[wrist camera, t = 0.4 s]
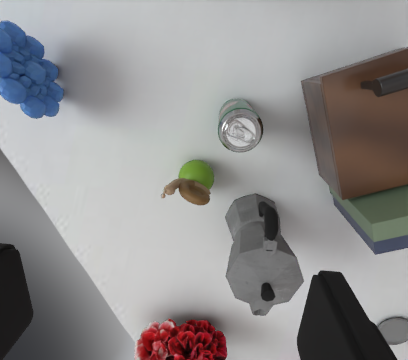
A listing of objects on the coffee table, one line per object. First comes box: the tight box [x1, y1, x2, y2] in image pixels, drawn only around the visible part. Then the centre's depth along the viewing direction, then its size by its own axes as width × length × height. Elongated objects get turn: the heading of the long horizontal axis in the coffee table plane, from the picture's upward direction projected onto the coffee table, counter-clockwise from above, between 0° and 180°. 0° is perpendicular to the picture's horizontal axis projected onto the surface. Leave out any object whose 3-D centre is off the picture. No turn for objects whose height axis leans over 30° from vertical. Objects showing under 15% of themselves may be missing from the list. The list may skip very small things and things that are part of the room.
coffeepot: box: [225, 194, 304, 316], centre depth 39 cm, size 15×9×18 cm, turn 178°
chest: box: [301, 47, 408, 197], centre depth 36 cm, size 15×13×8 cm
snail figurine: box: [161, 160, 214, 205], centre depth 39 cm, size 5×6×12 cm
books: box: [329, 184, 408, 255], centre depth 38 cm, size 5×11×14 cm, turn 108°
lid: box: [320, 48, 408, 200], centre depth 30 cm, size 16×13×5 cm
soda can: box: [218, 99, 263, 152], centre depth 36 cm, size 5×5×12 cm
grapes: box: [0, 21, 64, 119], centre depth 35 cm, size 12×7×12 cm, turn 8°
